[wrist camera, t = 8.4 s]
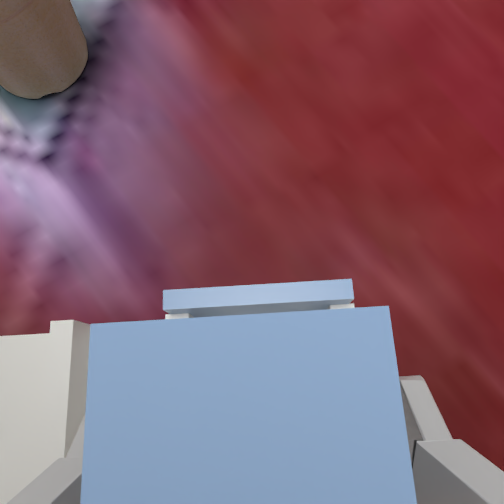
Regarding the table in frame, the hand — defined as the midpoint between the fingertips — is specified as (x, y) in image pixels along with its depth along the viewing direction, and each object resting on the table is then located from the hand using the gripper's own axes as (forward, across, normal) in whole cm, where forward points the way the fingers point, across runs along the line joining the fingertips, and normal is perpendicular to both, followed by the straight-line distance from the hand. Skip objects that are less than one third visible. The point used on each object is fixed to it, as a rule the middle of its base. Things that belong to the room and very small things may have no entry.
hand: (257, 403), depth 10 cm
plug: (+4, 0, +4) cm, 6 cm away
